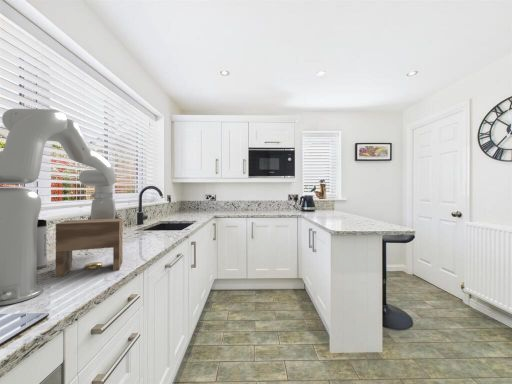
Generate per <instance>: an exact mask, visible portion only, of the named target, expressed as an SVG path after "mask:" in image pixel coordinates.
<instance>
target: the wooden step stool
mask: <svg viewBox="0 0 512 384" xmlns="http://www.w3.org/2000/svg"><path fill="white" fill-rule="evenodd" d="M123 225H124V223H123V218H119V219H115V218H114V219H95V220H88V219H75V220H73V219H70V220H64V221H60V222H58V223H55V277H56V278H57V277H59V278H60V277H63V276H64V275H66V273H67V272H69V271H70V270H71V269H72V268H73V251H86V250H87V251H88V250H99V249H101V250H102V249H110V248H111V249H112V248H113V249H112V250H113V251H112V254H113V257H112V258H113V259H112V260H113V261H112V264H113V266H112V267H113V268H112V269H113V271H114V272H115V271H120V269H121V267H122V265H123V238H124V236H123Z"/></svg>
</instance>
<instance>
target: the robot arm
mask: <svg viewBox="0 0 512 384" xmlns="http://www.w3.org/2000/svg"><path fill="white" fill-rule="evenodd" d="M1 121H2V124H3V126H4V127H5V128H6V130H7V131H8V134H7V136H6V140H5V144H4V147H3V149H2V150H1V151H0V186H1V185H25V184H33V183H34V182H36V181H37V180H38V178H39V176H40V172H41V167H42V159H43V155H44V150H45V146H46V142H59V144H60V145H61V147H62V148H63V150H64V151H65V153H66V154H67V156H68V158H69V159H70V160H71V161H74V162H76V163H78V164H81V165H85V166H88V167H91V168H93V169H86V170H82V171H81V172H80V173H79V175H78V180H79V183H81V184H82V185H84V186H86V187H87V186H88V187H94V193H93V194H90V197H92V198H93V199H92V201H91V206H90V207H91V208H90V216H89V217H88V219H87V220H95V219H120V218H119V216H118V214H117V212H116V208H117V207H116V202H115V198H113V192H114V191H113V187H114V186H113V185H115V183H116V180H117V176H116V172H115V171H114V168H113V166H112V165H111V162H109V161H108V159H107V158H105V157H104V156H102V155H101V154H100V153H97V152H96V151H95V150H93V149H92V148H91V147H90V145H89V142H88V141H87V138H86V137H85V135H84V134H83V132H82V130H81V128H80V126H79V124H78V123H77V122H75V121H74V120H73V119H69V118H67V115H66V114H65V113H64V112H62V111H60V110H58V109H52V108H51V109H50V108H47V109H46V108H10V109H7V110H5V112H4V113H3V114H2V117H1ZM41 208H42V199H41V196H40V195H39V194H38V193H37V192H36V191H34V190H31V189H29V188H23V187H0V306H4V305H5V306H6V305H11V304H16V303H20V302H23V301H27V300H30V299H32V298H36V297H38V296H39V295H40V294H42V293H43V292H44V287H43V285H41V284H40V285H39V284H37V270H38V269H37V222H38V219H39V217H40V213H41ZM36 269H37V270H36Z"/></svg>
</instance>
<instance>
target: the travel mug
mask: <svg viewBox="0 0 512 384" xmlns="http://www.w3.org/2000/svg"><path fill="white" fill-rule="evenodd" d="M47 227H48V225H47V219H46V220H45V219H39V218H38V222H37V269H36V271H37V270H41V269H44V268H46V267H47V258H48V257H47V255H48V254H47V253H48V252H47V251H48V249H47V247H48V246H47V245H48V243H47V241H48V240H47V238H48V237H47V235H48V232H47V231H48V230H47V229H48V228H47Z"/></svg>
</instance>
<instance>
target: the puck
mask: <svg viewBox="0 0 512 384" xmlns="http://www.w3.org/2000/svg"><path fill="white" fill-rule="evenodd" d="M102 267H103V262H100V261H95V262H89V263H85V265H84V270H97V269H100V268H102Z"/></svg>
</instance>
